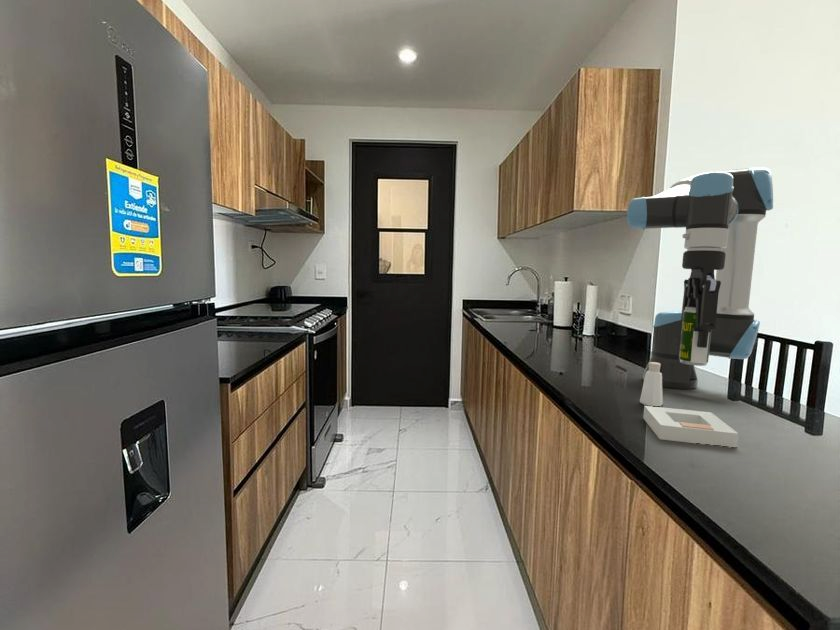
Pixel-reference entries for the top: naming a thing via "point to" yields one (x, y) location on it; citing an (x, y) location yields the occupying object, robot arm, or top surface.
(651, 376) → the salt shaker
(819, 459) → the top surface
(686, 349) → the beer can
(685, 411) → the socket block
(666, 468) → the top surface
